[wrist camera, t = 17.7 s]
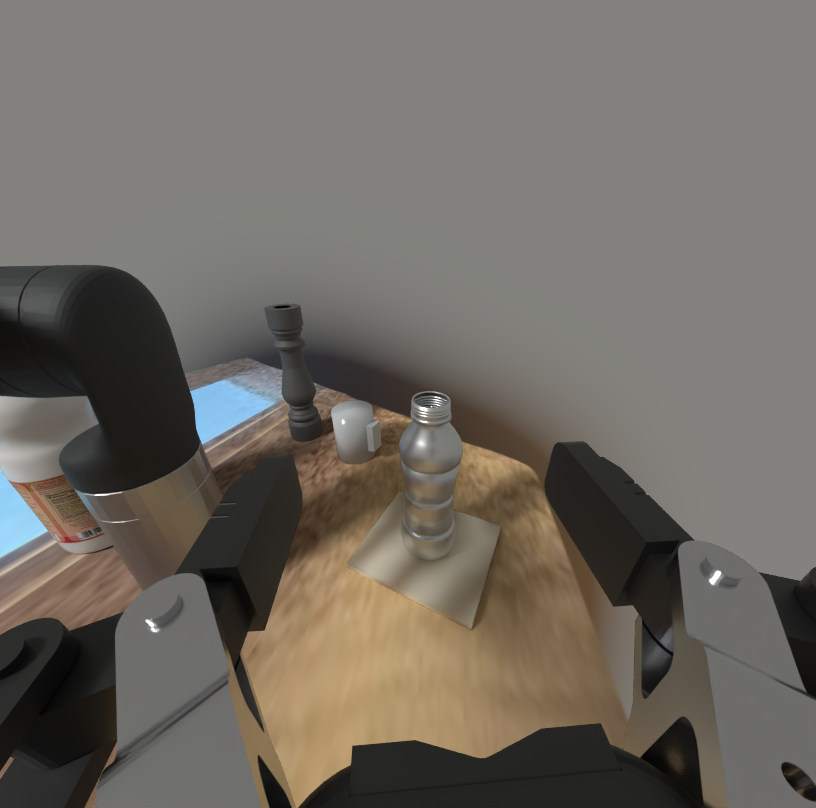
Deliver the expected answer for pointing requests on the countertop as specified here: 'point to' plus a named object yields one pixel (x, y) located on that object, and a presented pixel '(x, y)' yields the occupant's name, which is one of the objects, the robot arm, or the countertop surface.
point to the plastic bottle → (429, 476)
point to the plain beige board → (430, 564)
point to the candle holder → (294, 371)
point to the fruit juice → (49, 465)
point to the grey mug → (355, 431)
